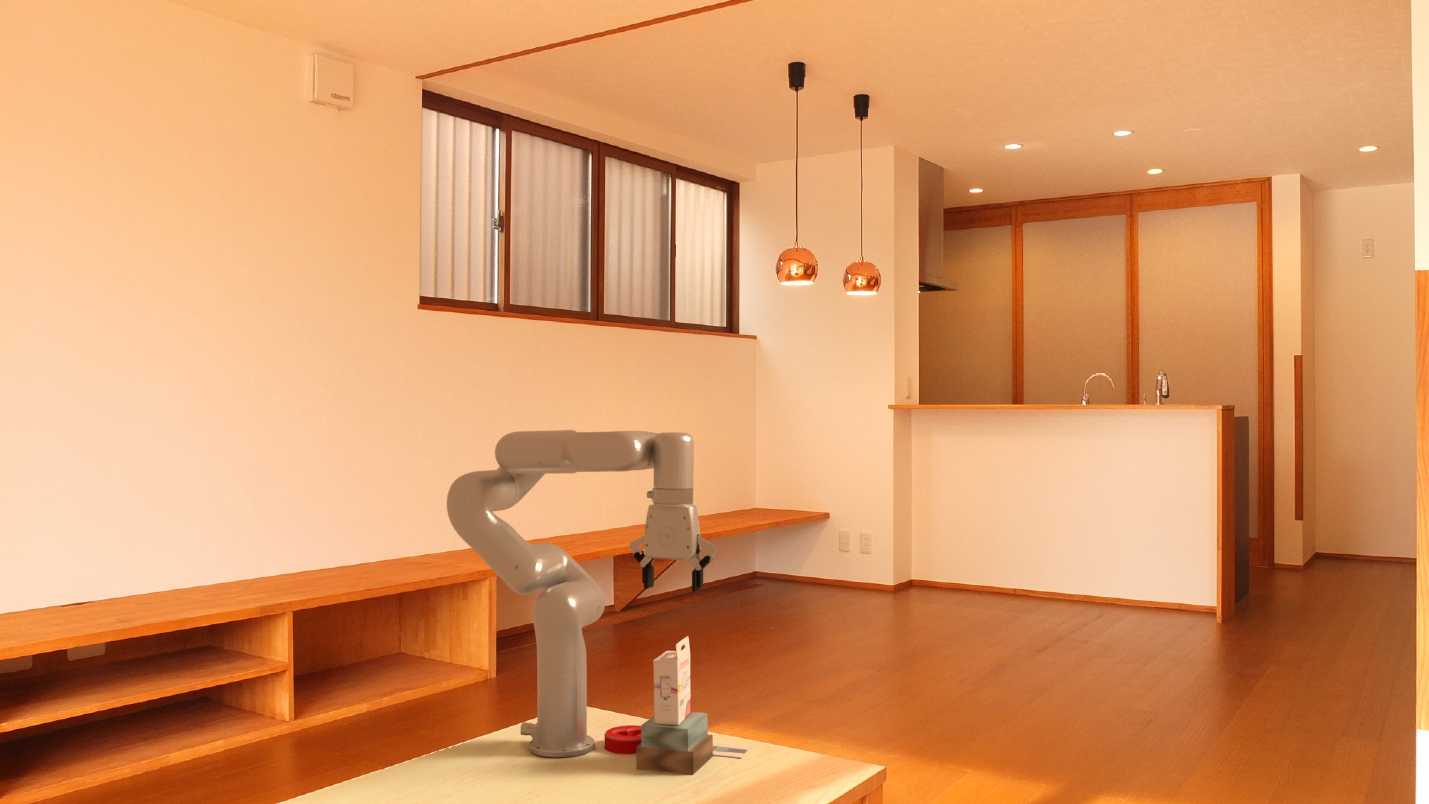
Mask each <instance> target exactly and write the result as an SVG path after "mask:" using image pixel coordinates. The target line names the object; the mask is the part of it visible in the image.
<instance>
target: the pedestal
mask: <svg viewBox="0 0 1429 804" xmlns="http://www.w3.org/2000/svg"><path fill="white" fill-rule="evenodd" d="M708 715H709V714H708V713H707V712H699V711H698V712H696V711H691V712H690V714H689V715H688V716H687V717H686V718H685V719H684V720H683V721H682V722H681V723H680V724H679V725H668V724H655V723H654V715H653V716H651V717H650V718H649V719H648V720H646V721H644V722H643V723H642V724H641V725H640V726H641V744H639V745H638V746H637V747H636V754H635V755H636V757H635V758H636V763H635V764H636V765H635V766H636V769H637V770H643V771H655V772H664V773H665V772H666V773H674V774H683V775H692V776H693V775H694V776H695V774H696V773H697V772H698V771H699V770H700V769H701V768H702V767H704V766H705V764H706V763H707V762H708V761H709V760H711V759H712V758H713V743H714V742H713V738H714V737H713V734H709V733H708V730H709V728H708V727H709V726H708V723H709V722H708V717H709V716H708Z"/></svg>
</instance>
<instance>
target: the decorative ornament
mask: <svg viewBox="0 0 1429 804" xmlns="http://www.w3.org/2000/svg"><path fill="white" fill-rule="evenodd" d="M603 734H604V735H603V736H604V750H605V751H607V752H609V753H612V754H617V755H636V747H637V746H638V745H639V744H641V725H636V724H635V725H634V724H633V725H632V724H631V725H630V724H628V725H627V724H626V725H620V726H613V727H611V728H608V729H606V731H605V732H604V733H603Z"/></svg>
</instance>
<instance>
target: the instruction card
mask: <svg viewBox="0 0 1429 804" xmlns="http://www.w3.org/2000/svg"><path fill="white" fill-rule="evenodd" d="M751 749H752V746H751V745H750V746H749V745H741V744H739V745H738V744H729V743H720V742H719V743H717V742H713V756H715V757H724V758H734V759H742V758H743V757H744V756H745V755H747V753H748V752H750V750H751Z"/></svg>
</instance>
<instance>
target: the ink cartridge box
mask: <svg viewBox="0 0 1429 804" xmlns="http://www.w3.org/2000/svg"><path fill="white" fill-rule="evenodd" d="M683 646H684V647H683ZM682 647H683V649H682ZM690 647H691V646H690V639H689V635H686V636H685V637H684V638H683V639H681V640H680V641H678V642H677V643H676V644H675V650H666V651H664V652H663V653H661V655H658V657H656V658H654V659H653V661H652V663H653V664H652V665H653V703H654V704H653V710H654V715H653V716H654V723H655V724H668V725H679V724H680V723H681V722H682V721H683V720H684V719H685V718H686V717H687V716H688V715H689V714H690V712H692V710H691V701H692V700H691V649H690Z"/></svg>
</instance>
